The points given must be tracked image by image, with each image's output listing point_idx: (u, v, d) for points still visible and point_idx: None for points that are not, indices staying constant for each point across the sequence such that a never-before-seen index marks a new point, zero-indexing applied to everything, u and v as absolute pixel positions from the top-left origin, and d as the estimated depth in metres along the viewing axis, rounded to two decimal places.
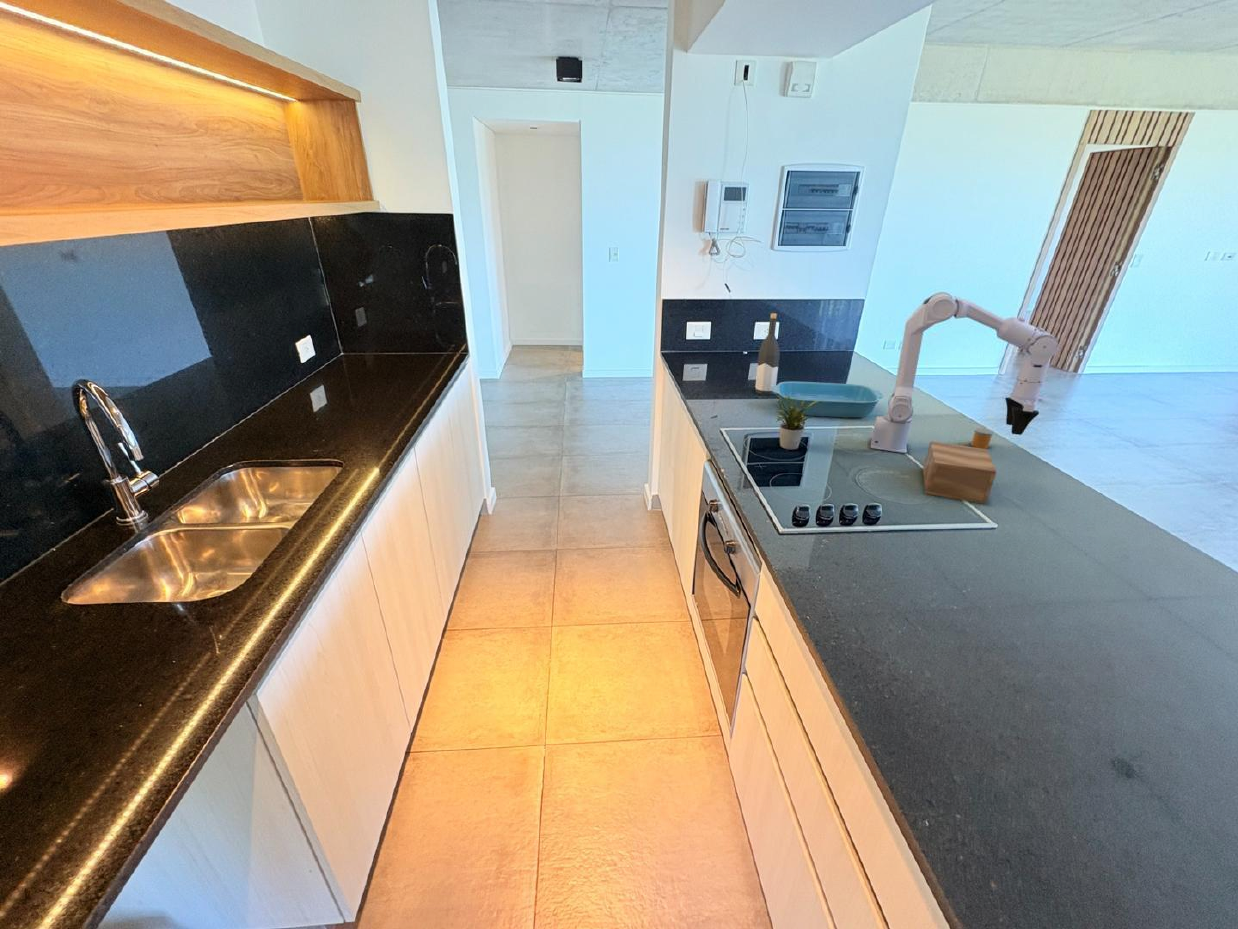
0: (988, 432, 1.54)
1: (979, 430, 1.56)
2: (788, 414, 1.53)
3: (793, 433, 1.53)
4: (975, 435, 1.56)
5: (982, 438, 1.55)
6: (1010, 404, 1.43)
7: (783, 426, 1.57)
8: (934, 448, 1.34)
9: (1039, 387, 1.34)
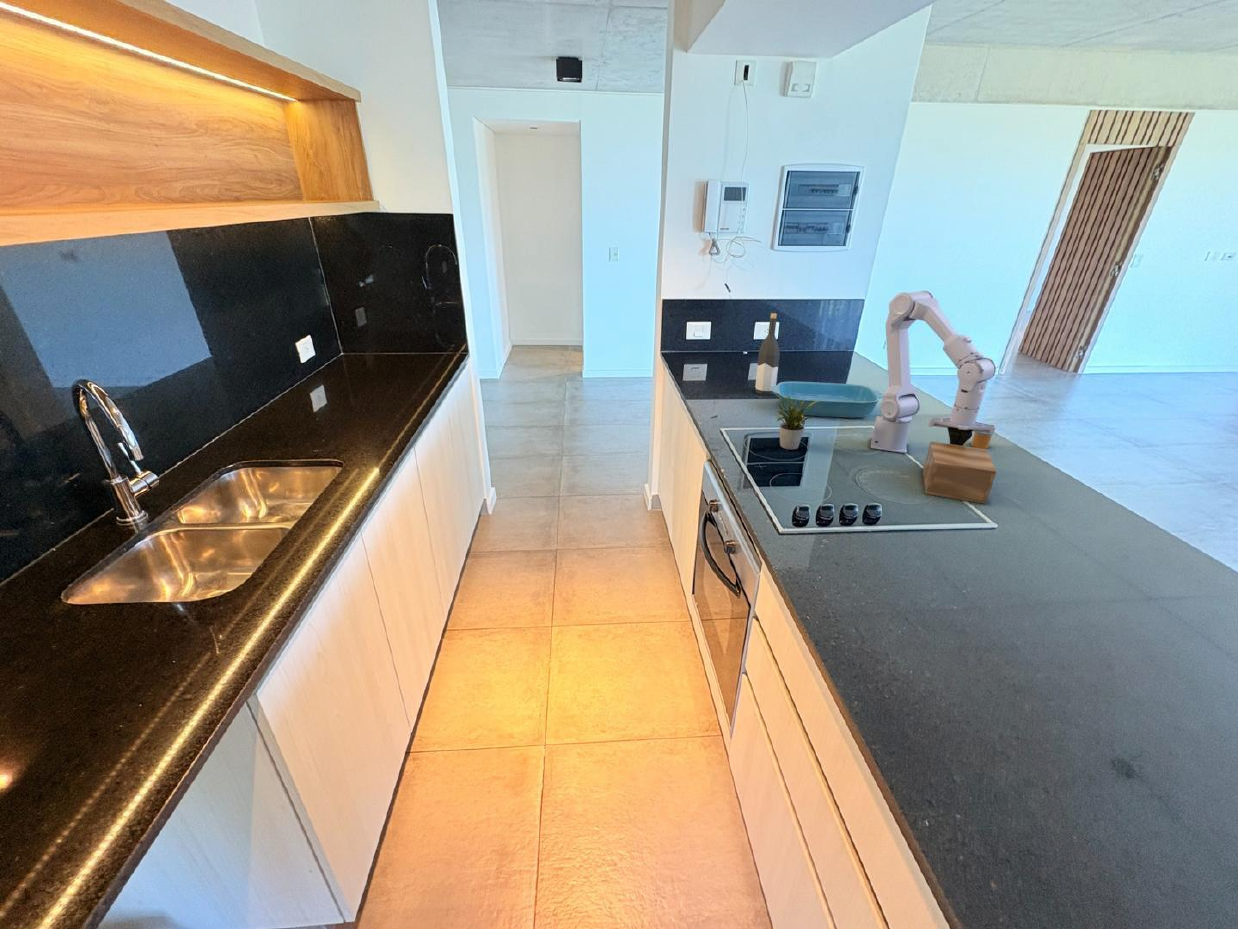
0: None
1: None
2: (788, 414, 1.53)
3: (793, 433, 1.53)
4: (975, 435, 1.56)
5: (982, 438, 1.55)
6: (959, 433, 1.39)
7: (783, 426, 1.57)
8: (934, 448, 1.34)
9: (957, 411, 1.34)
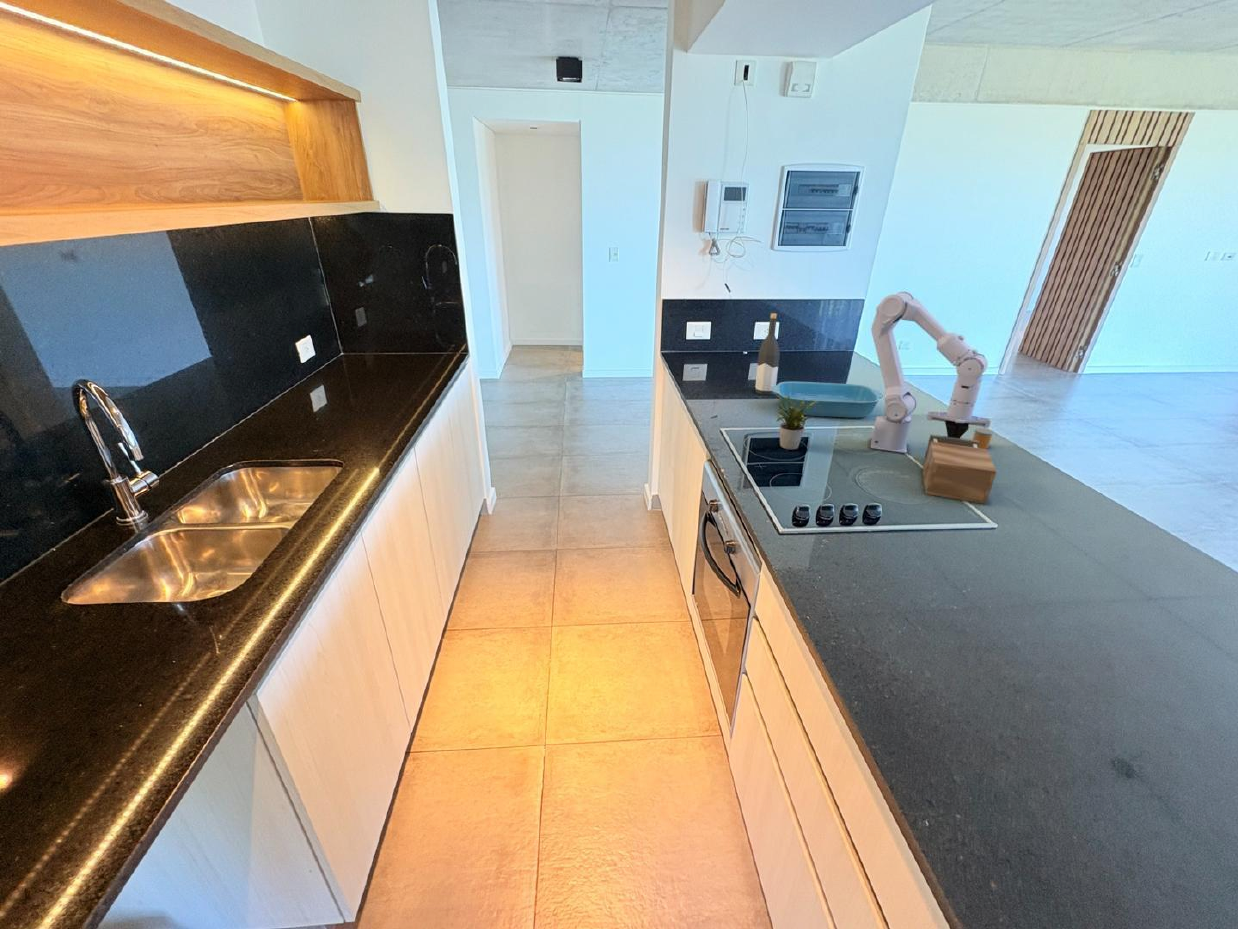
0: (988, 432, 1.54)
1: (979, 430, 1.56)
2: (788, 414, 1.53)
3: (793, 433, 1.53)
4: (975, 435, 1.56)
5: (982, 438, 1.55)
6: (956, 427, 1.45)
7: (783, 426, 1.57)
8: (934, 448, 1.34)
9: (954, 406, 1.40)
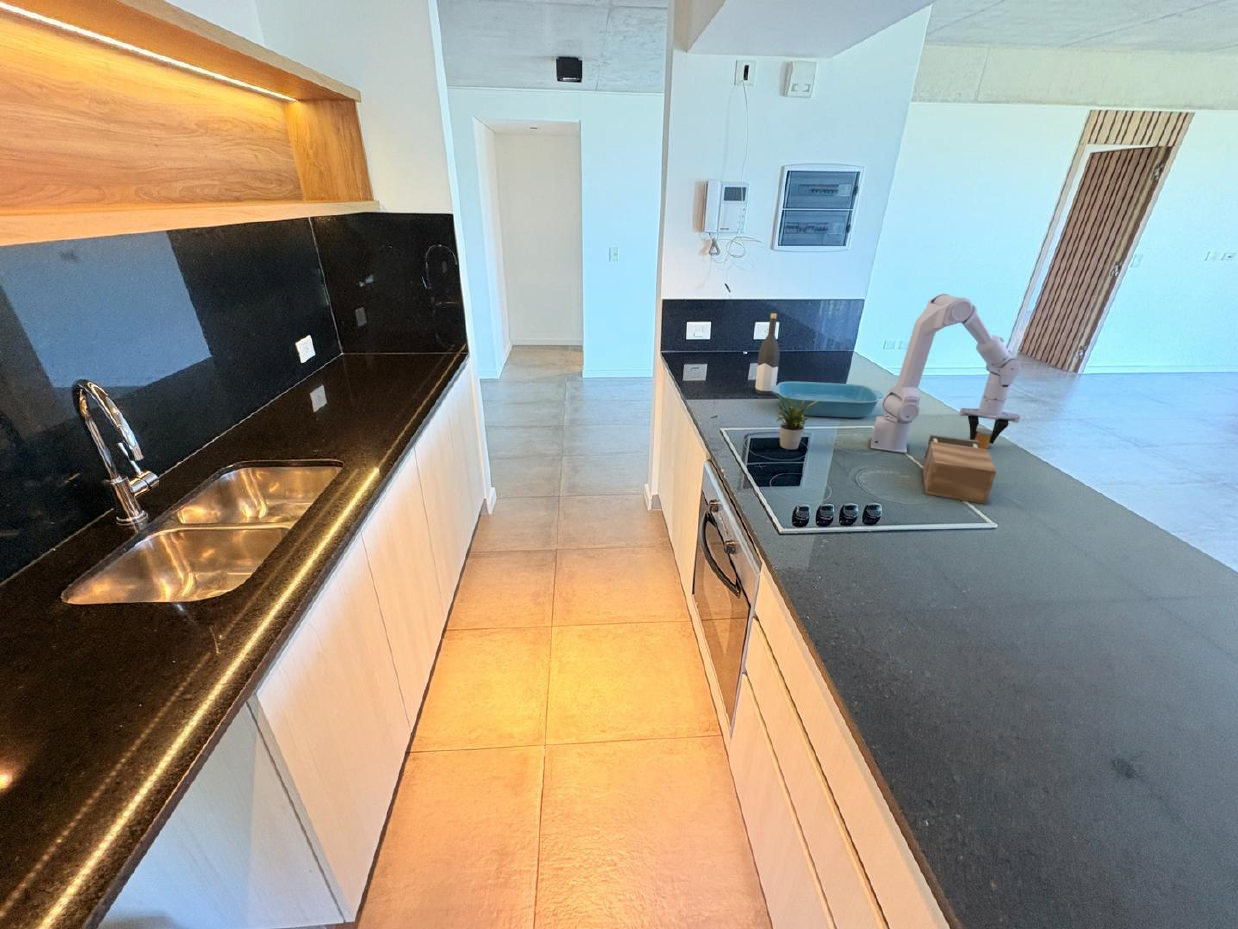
0: (988, 432, 1.54)
1: (979, 430, 1.56)
2: (788, 414, 1.53)
3: (793, 433, 1.53)
4: (975, 435, 1.56)
5: (982, 438, 1.55)
6: (996, 423, 1.55)
7: (783, 426, 1.57)
8: (934, 448, 1.34)
9: (986, 402, 1.51)
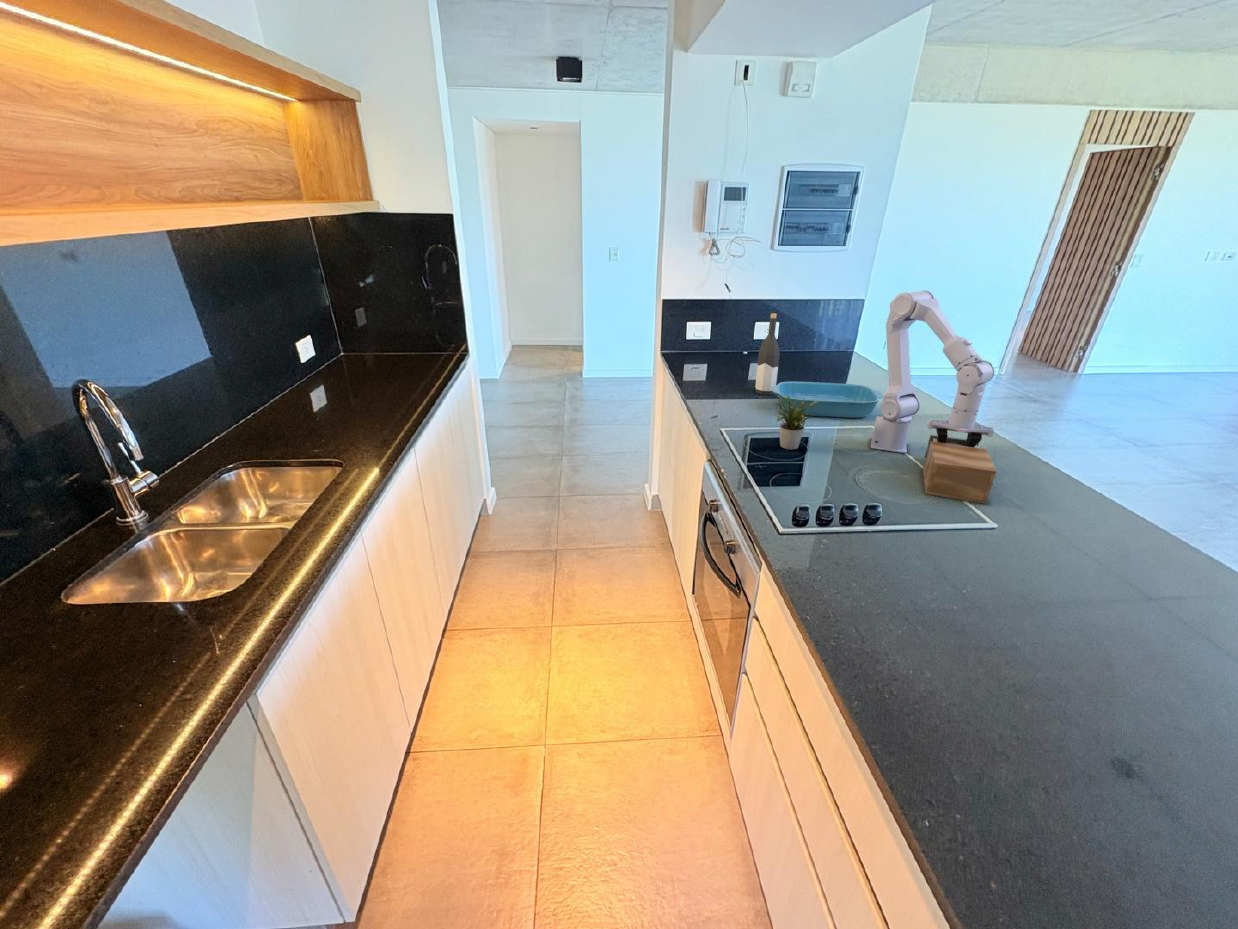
0: None
1: None
2: (788, 414, 1.53)
3: (793, 433, 1.53)
4: None
5: None
6: (968, 437, 1.39)
7: (783, 426, 1.57)
8: (934, 448, 1.34)
9: (956, 414, 1.35)
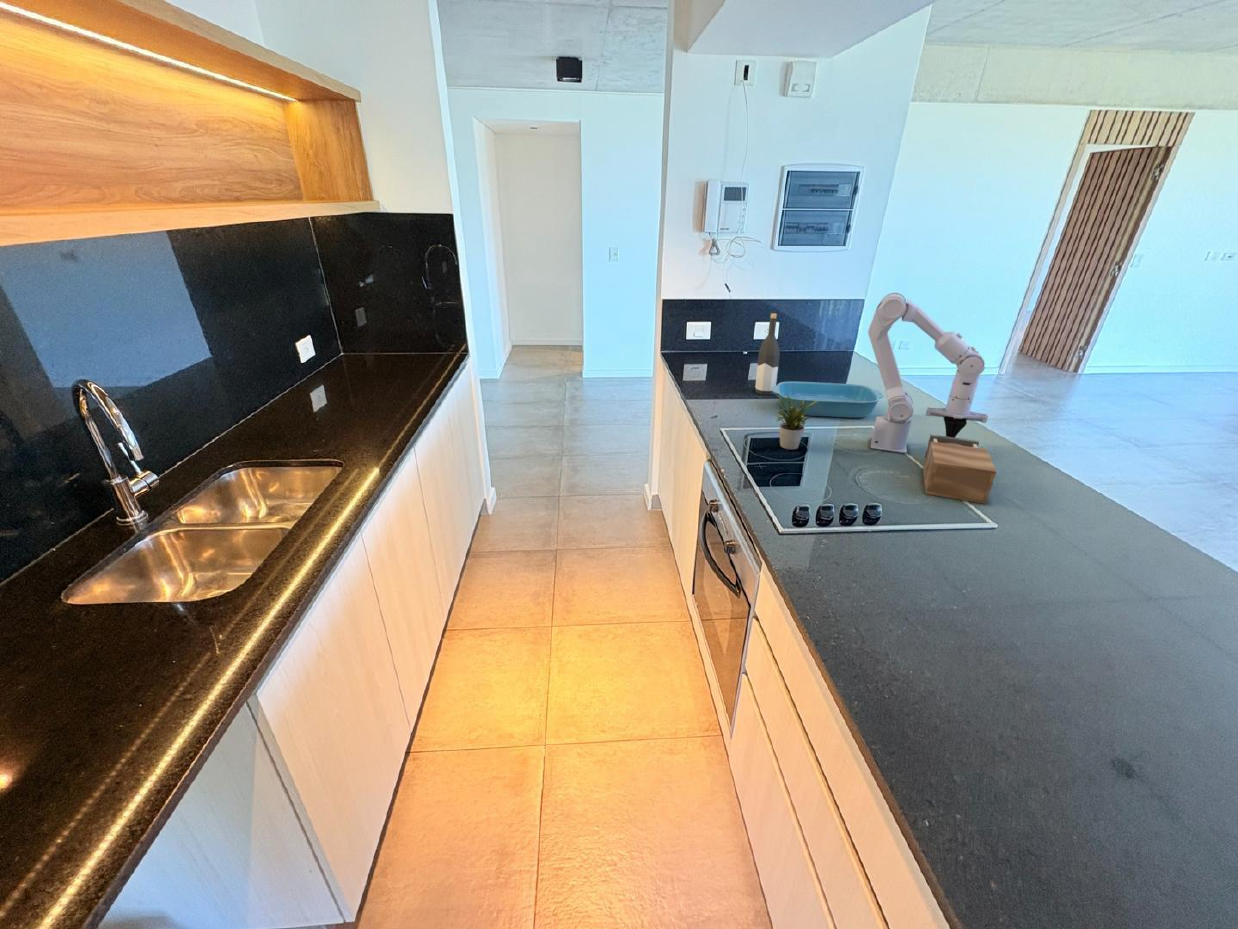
0: None
1: None
2: (788, 414, 1.53)
3: (793, 433, 1.53)
4: None
5: None
6: (954, 422, 1.48)
7: (783, 426, 1.57)
8: (934, 448, 1.34)
9: (952, 401, 1.44)
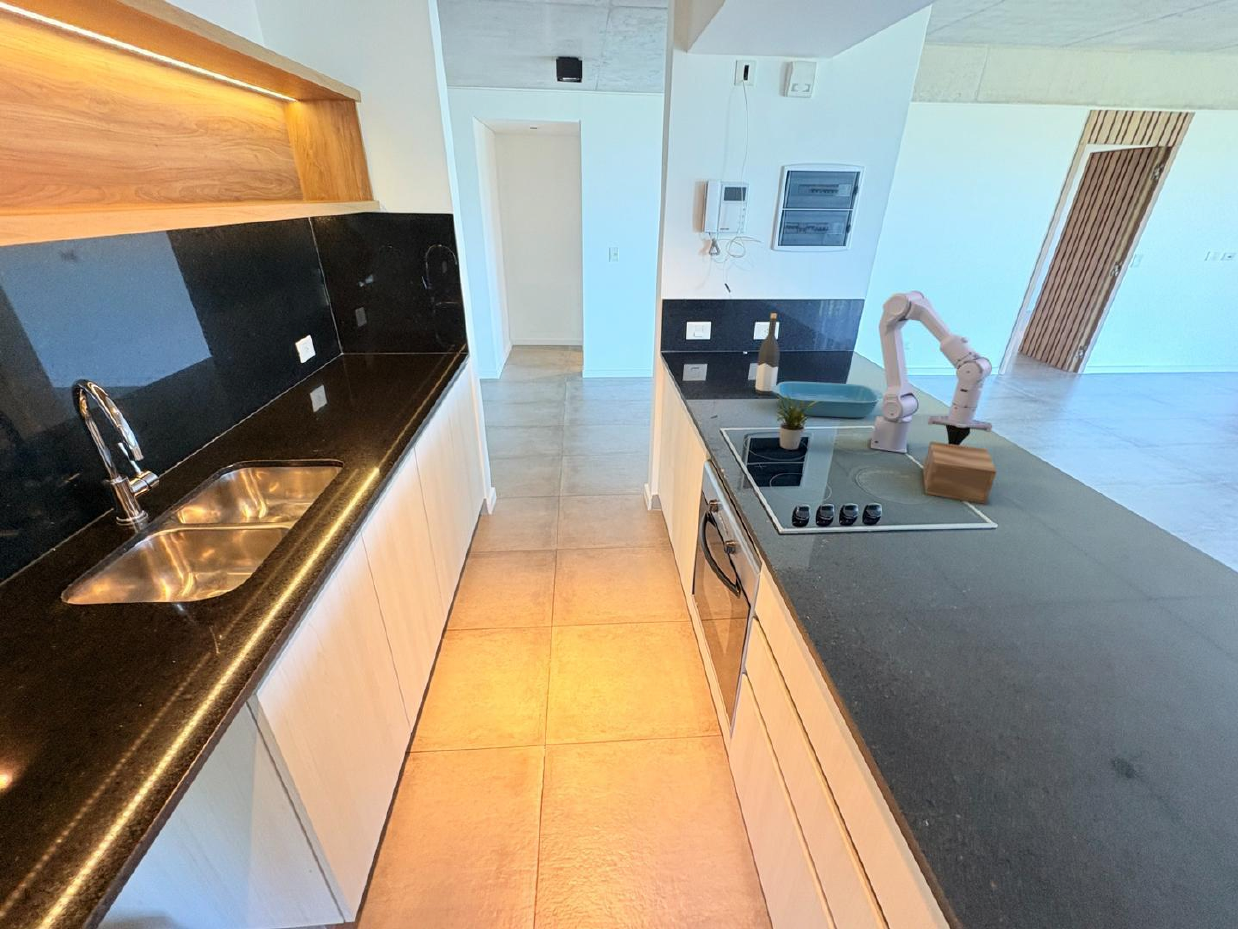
0: None
1: None
2: (788, 414, 1.53)
3: (793, 433, 1.53)
4: None
5: None
6: (957, 431, 1.42)
7: (783, 426, 1.57)
8: (934, 448, 1.34)
9: (955, 410, 1.38)
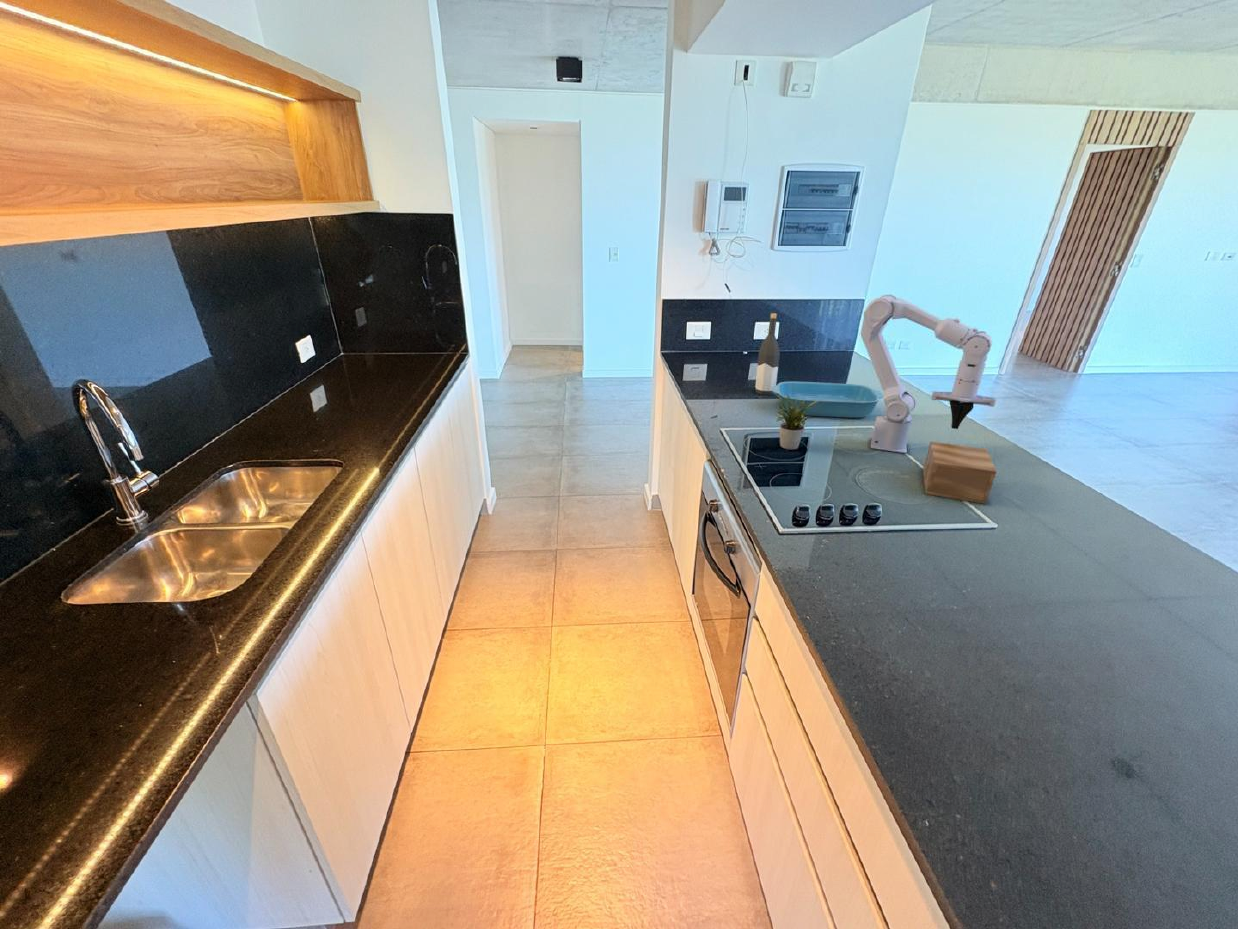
0: None
1: None
2: (788, 414, 1.53)
3: (793, 433, 1.53)
4: None
5: None
6: None
7: (783, 426, 1.57)
8: (934, 448, 1.34)
9: (958, 384, 1.39)
